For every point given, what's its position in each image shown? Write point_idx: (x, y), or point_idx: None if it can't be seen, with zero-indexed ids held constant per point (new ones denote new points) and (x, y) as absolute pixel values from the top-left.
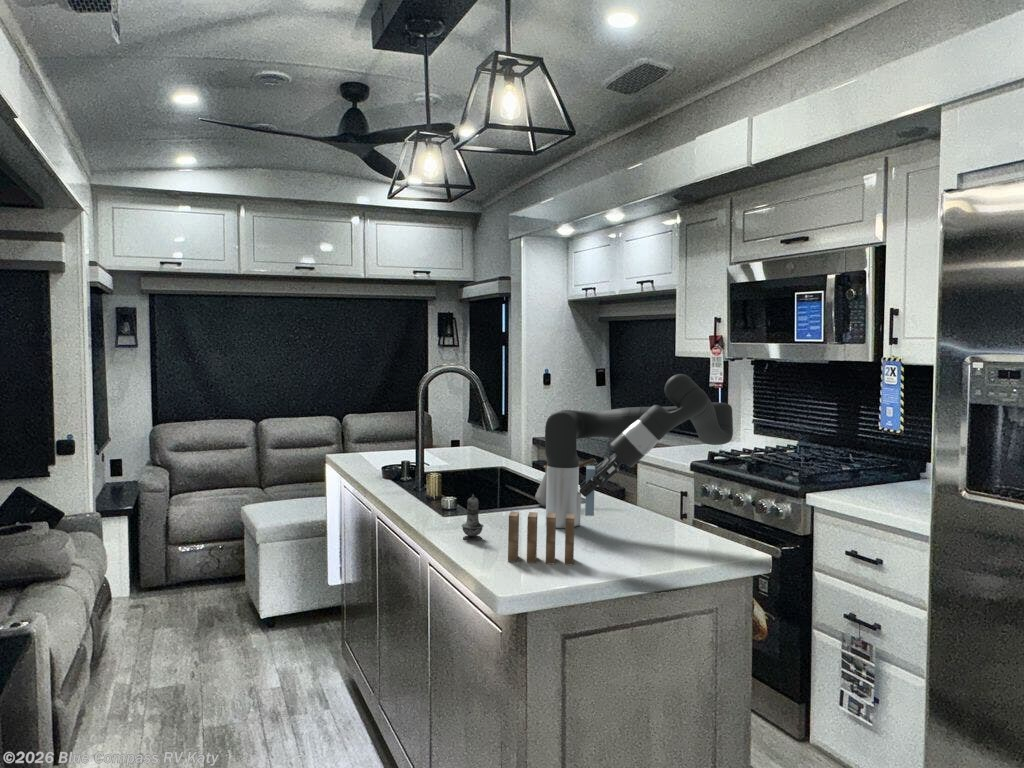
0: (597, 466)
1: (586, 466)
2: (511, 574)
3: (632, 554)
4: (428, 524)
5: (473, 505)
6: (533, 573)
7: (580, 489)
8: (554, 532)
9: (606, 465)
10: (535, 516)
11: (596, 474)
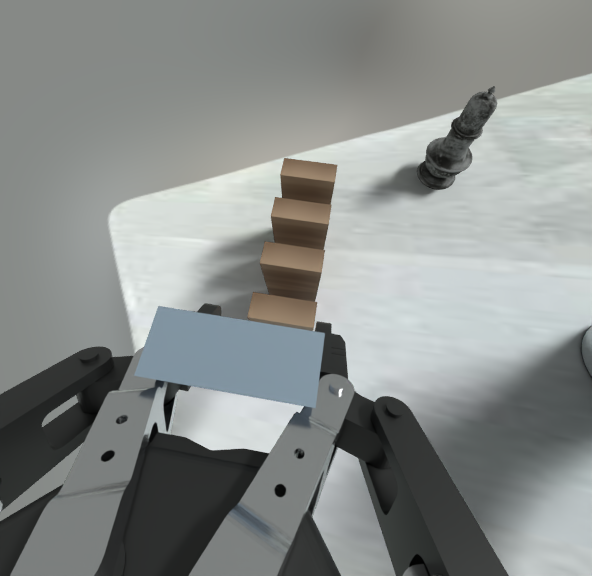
0: (284, 431)
1: (281, 327)
2: (211, 225)
3: (353, 515)
4: (522, 112)
5: (464, 113)
6: (213, 259)
7: (204, 306)
8: (264, 278)
9: (33, 504)
10: (276, 215)
11: (124, 384)
